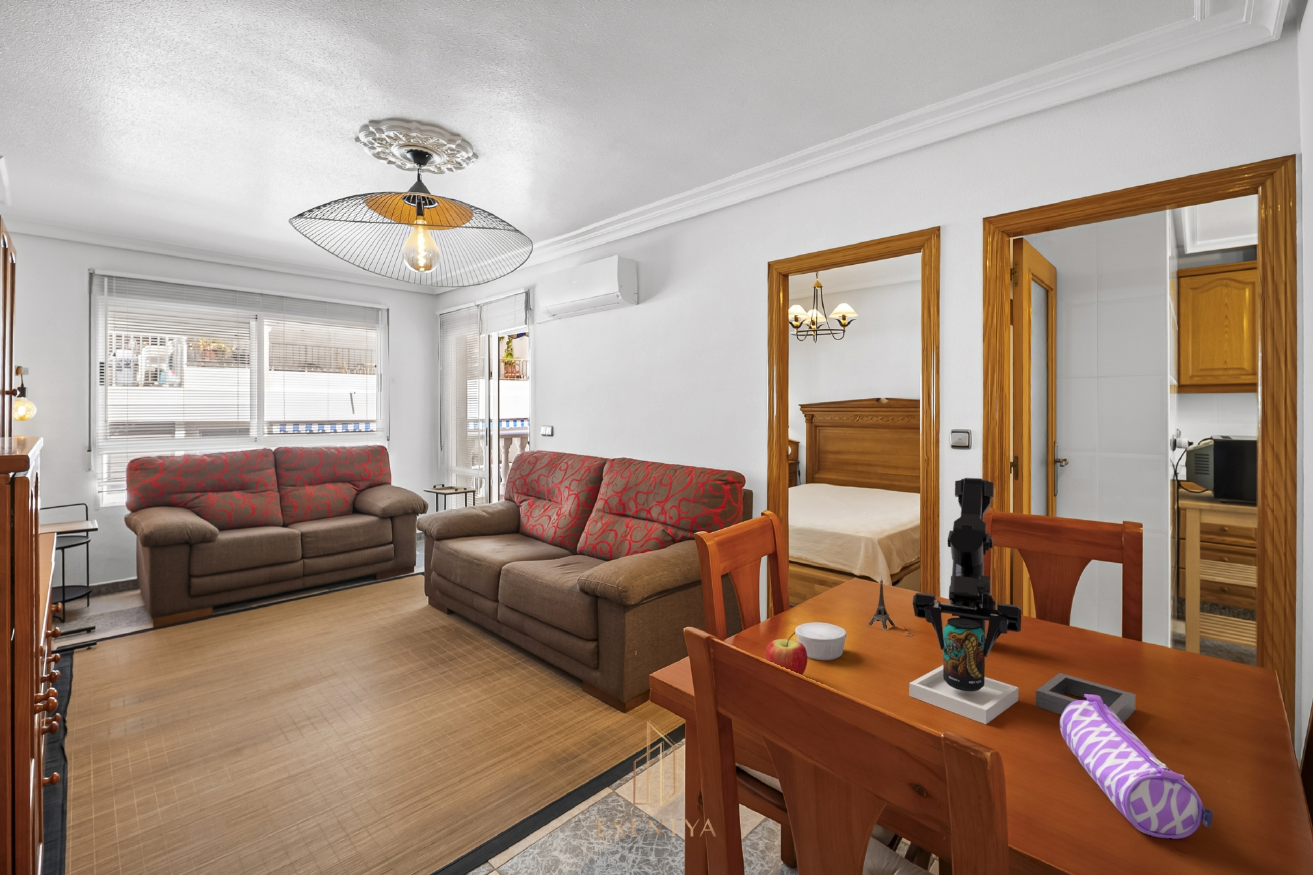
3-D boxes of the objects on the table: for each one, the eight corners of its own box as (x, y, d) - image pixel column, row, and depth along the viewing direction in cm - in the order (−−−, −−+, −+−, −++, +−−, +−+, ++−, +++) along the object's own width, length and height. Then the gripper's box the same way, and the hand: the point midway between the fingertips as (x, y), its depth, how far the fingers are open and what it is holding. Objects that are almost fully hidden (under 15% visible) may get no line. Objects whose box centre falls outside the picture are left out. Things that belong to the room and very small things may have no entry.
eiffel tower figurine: (914, 638, 148) (914, 584, 147) (872, 638, 148) (872, 584, 148) (893, 618, 163) (894, 569, 162) (855, 617, 163) (855, 568, 163)
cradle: (944, 676, 125) (944, 664, 125) (1018, 700, 114) (1018, 687, 114) (909, 695, 116) (909, 683, 116) (985, 724, 105) (985, 710, 105)
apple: (799, 691, 119) (799, 640, 118) (759, 681, 123) (759, 633, 123) (813, 675, 126) (813, 628, 125) (774, 667, 130) (774, 621, 130)
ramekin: (791, 658, 135) (791, 635, 135) (799, 641, 145) (799, 619, 145) (844, 665, 131) (844, 641, 131) (848, 647, 141) (848, 625, 141)
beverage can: (956, 693, 111) (957, 629, 111) (935, 677, 118) (936, 617, 118) (992, 691, 112) (993, 628, 112) (969, 675, 119) (970, 615, 119)
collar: (1059, 687, 119) (1059, 672, 119) (1135, 710, 110) (1135, 694, 110) (1035, 706, 112) (1036, 690, 112) (1115, 732, 102) (1115, 714, 102)
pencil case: (1214, 852, 74) (1216, 777, 74) (1129, 842, 76) (1131, 769, 76) (1114, 754, 96) (1115, 695, 96) (1050, 748, 98) (1051, 690, 98)
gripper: (914, 553, 122) (905, 623, 113) (1021, 563, 113) (1022, 641, 104) (918, 581, 130) (911, 650, 121) (1020, 594, 120) (1020, 669, 111)
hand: (963, 652), depth 114 cm, fingers closed on beverage can, 7 cm apart
